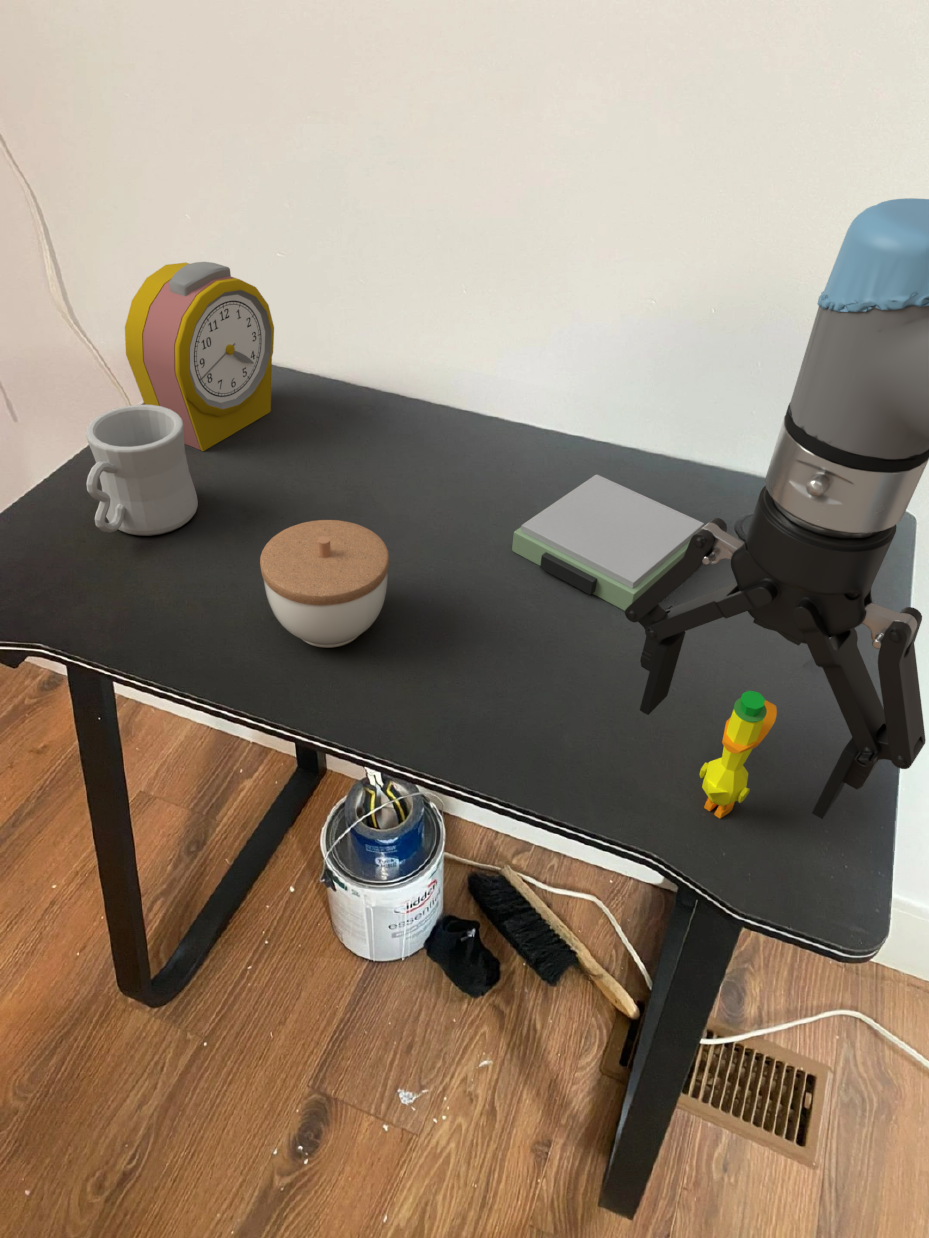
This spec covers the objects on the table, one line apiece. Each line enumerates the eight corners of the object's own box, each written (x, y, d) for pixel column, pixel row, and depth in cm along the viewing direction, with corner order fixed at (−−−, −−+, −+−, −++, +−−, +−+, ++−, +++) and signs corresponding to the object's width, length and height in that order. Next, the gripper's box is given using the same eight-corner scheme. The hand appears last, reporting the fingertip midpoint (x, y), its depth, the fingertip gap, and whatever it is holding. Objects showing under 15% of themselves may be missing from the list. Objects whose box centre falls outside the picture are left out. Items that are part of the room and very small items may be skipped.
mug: (142, 481, 98) (123, 395, 92) (216, 500, 96) (202, 414, 89) (65, 544, 89) (39, 454, 83) (146, 567, 87) (125, 477, 81)
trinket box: (335, 572, 88) (330, 489, 82) (414, 625, 83) (415, 541, 76) (243, 623, 82) (231, 538, 76) (322, 684, 76) (315, 598, 70)
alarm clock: (196, 460, 102) (168, 297, 90) (143, 437, 105) (109, 277, 93) (284, 407, 112) (270, 254, 100) (233, 388, 115) (213, 238, 103)
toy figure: (722, 766, 72) (761, 654, 64) (763, 792, 70) (809, 680, 62) (675, 816, 68) (711, 704, 60) (717, 845, 66) (760, 733, 58)
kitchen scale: (704, 549, 93) (711, 523, 91) (625, 617, 85) (631, 591, 83) (591, 495, 100) (595, 470, 98) (507, 554, 91) (509, 527, 89)
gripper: (606, 443, 55) (562, 691, 69) (1047, 641, 43) (885, 890, 57) (671, 401, 59) (617, 642, 73) (1086, 570, 48) (927, 817, 62)
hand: (735, 751), depth 65 cm, fingers open, 13 cm apart
